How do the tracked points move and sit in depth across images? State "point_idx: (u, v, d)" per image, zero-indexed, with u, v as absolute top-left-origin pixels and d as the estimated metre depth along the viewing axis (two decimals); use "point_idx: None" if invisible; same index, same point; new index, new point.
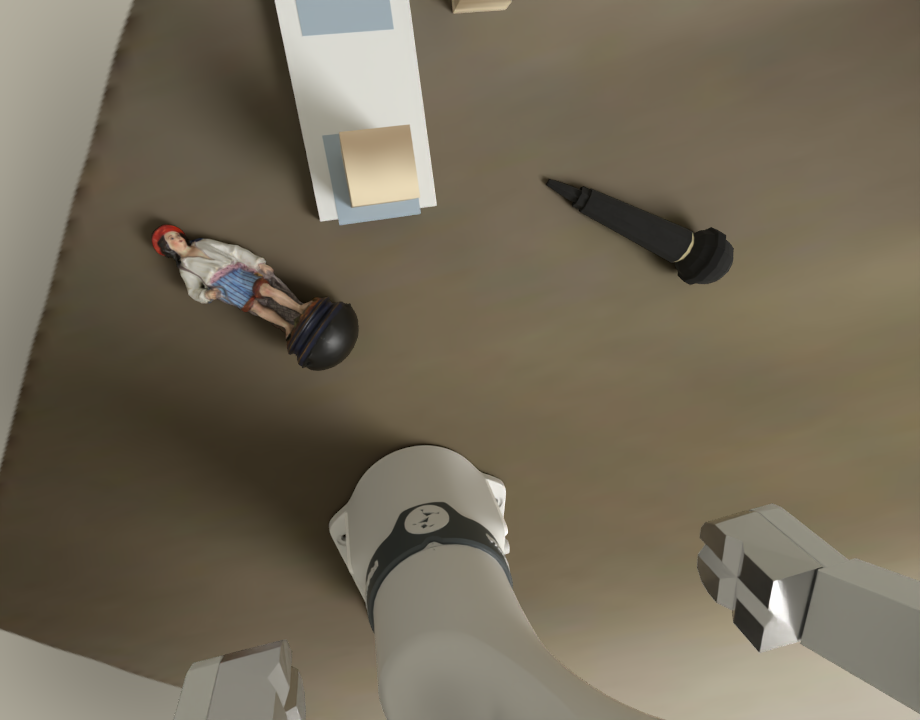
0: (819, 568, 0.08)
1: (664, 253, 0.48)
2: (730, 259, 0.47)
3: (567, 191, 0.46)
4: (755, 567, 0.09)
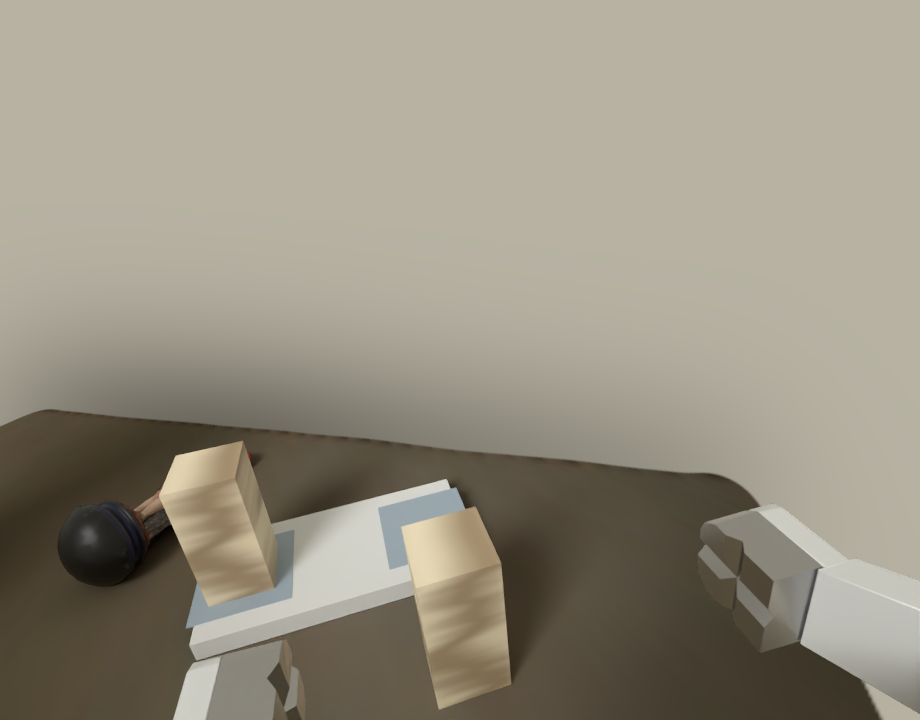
0: (819, 568, 0.08)
1: None
2: None
3: None
4: (755, 567, 0.09)
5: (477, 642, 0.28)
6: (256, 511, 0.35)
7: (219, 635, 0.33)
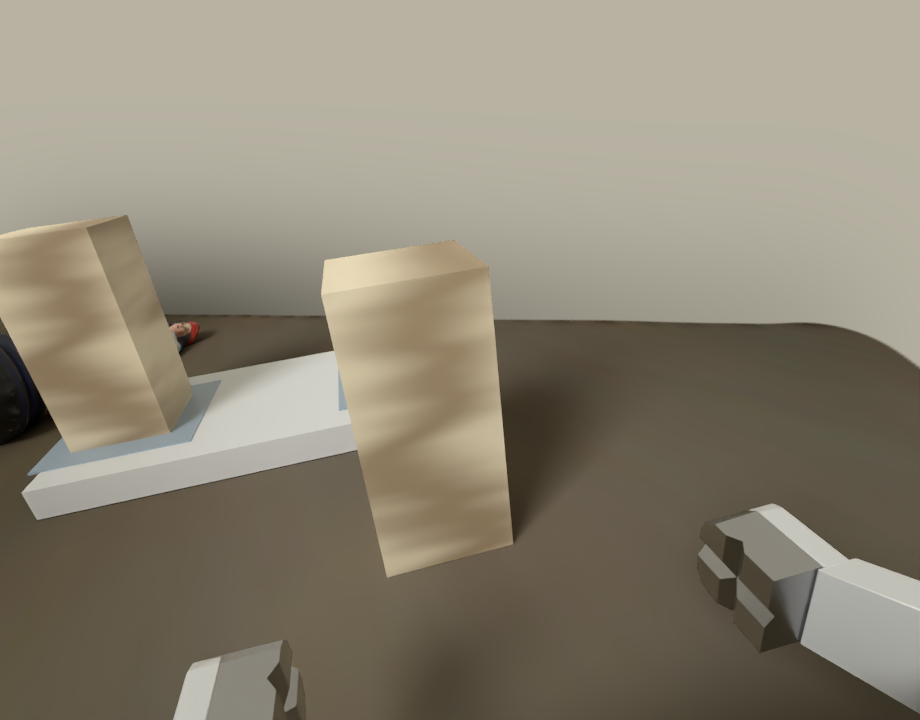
0: (819, 568, 0.08)
1: None
2: None
3: None
4: (755, 567, 0.09)
5: (450, 446, 0.15)
6: (142, 314, 0.24)
7: (70, 481, 0.22)
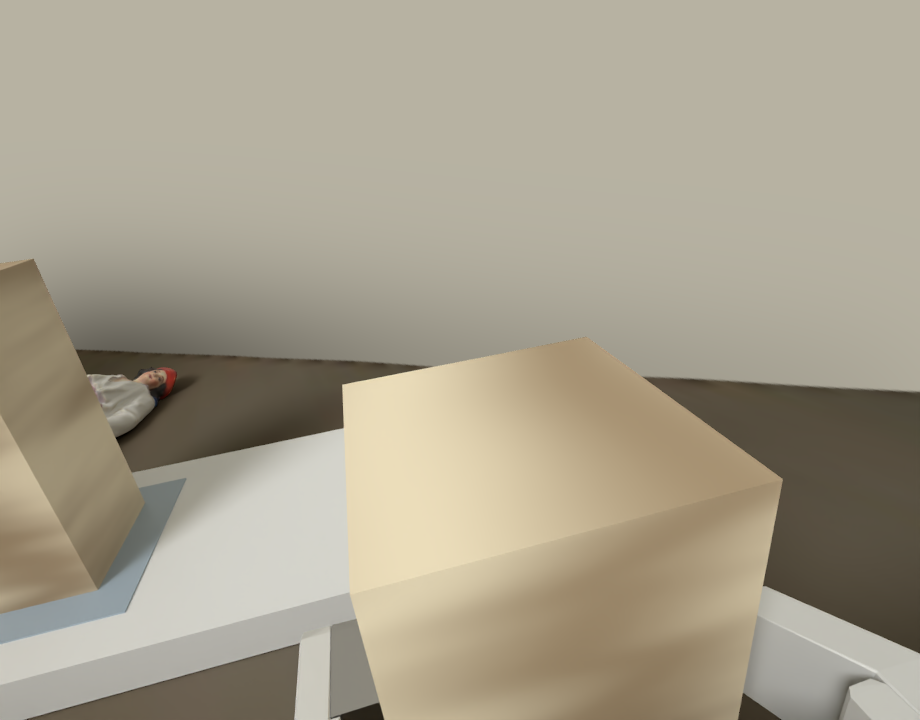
0: None
1: None
2: None
3: None
4: None
5: None
6: (54, 413, 0.16)
7: None
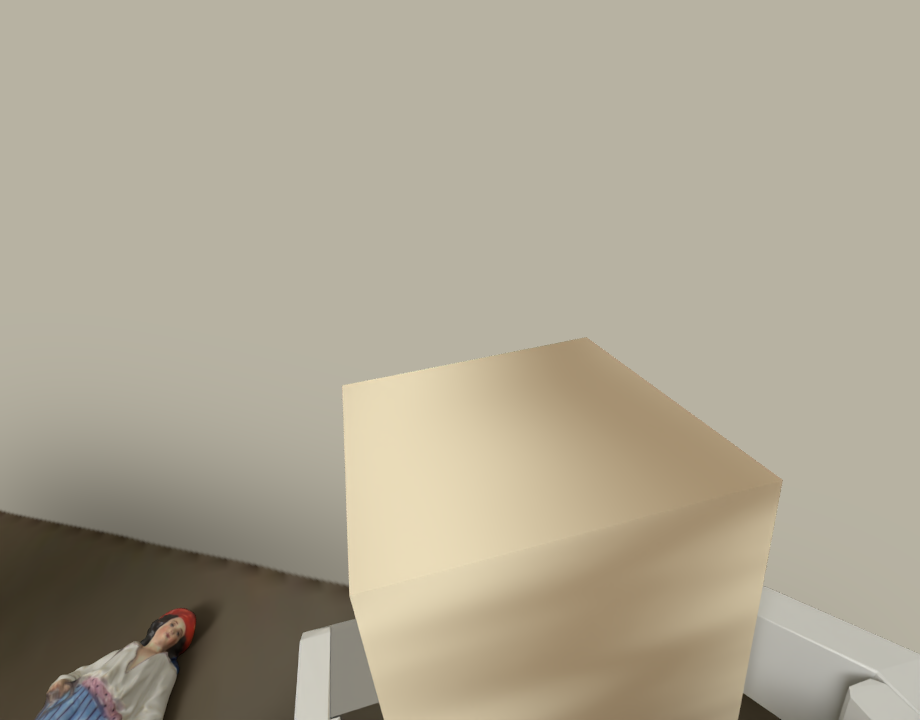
0: None
1: None
2: None
3: None
4: None
5: None
6: None
7: None
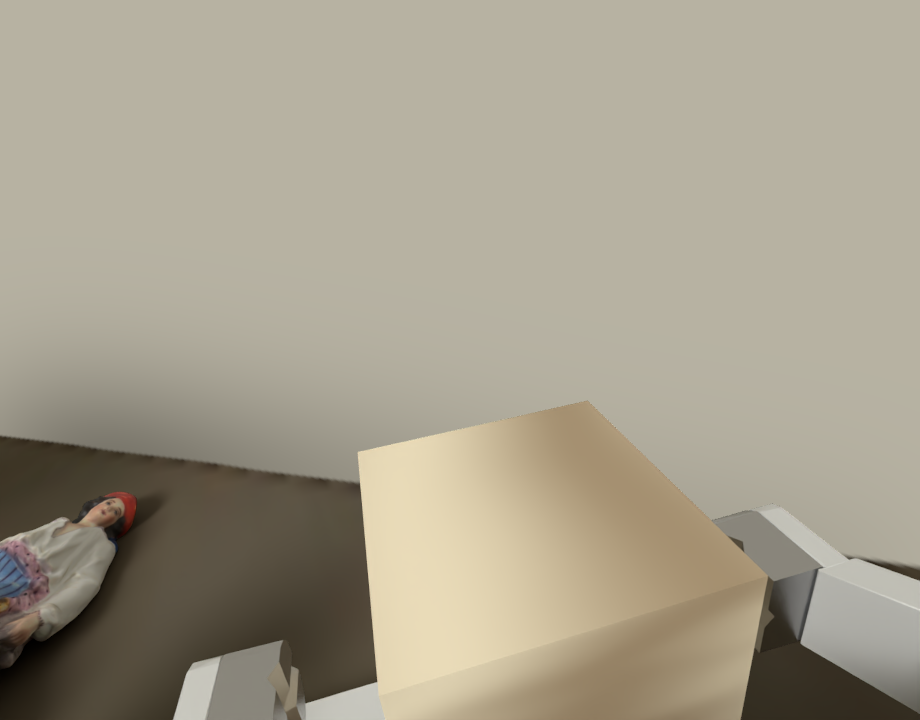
0: (819, 568, 0.08)
1: None
2: None
3: None
4: None
5: None
6: None
7: None
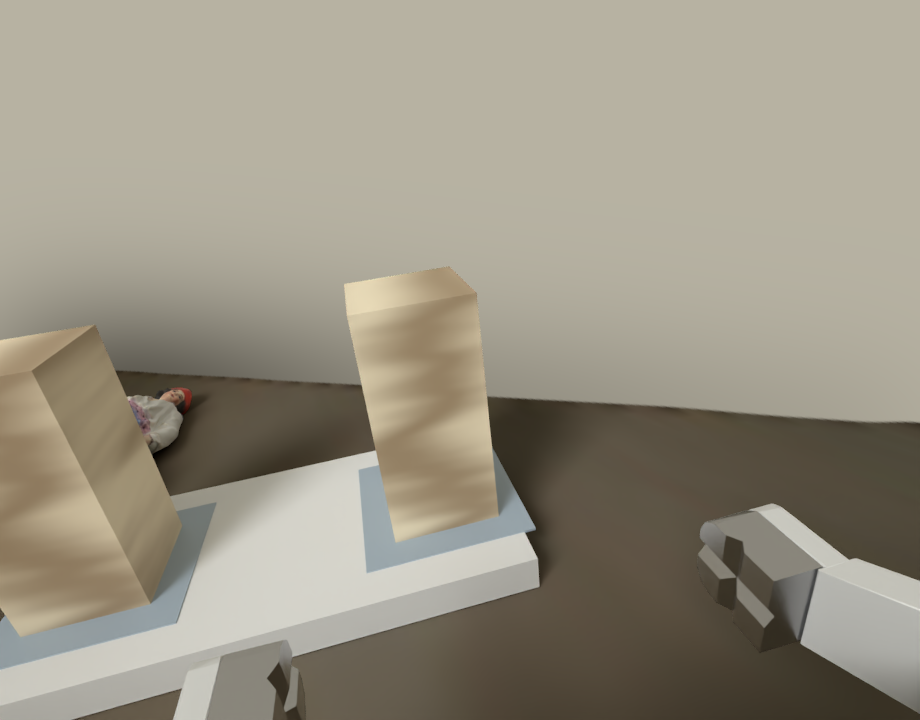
0: (819, 568, 0.08)
1: None
2: None
3: None
4: (755, 567, 0.09)
5: (446, 434, 0.19)
6: (114, 456, 0.19)
7: (14, 699, 0.16)
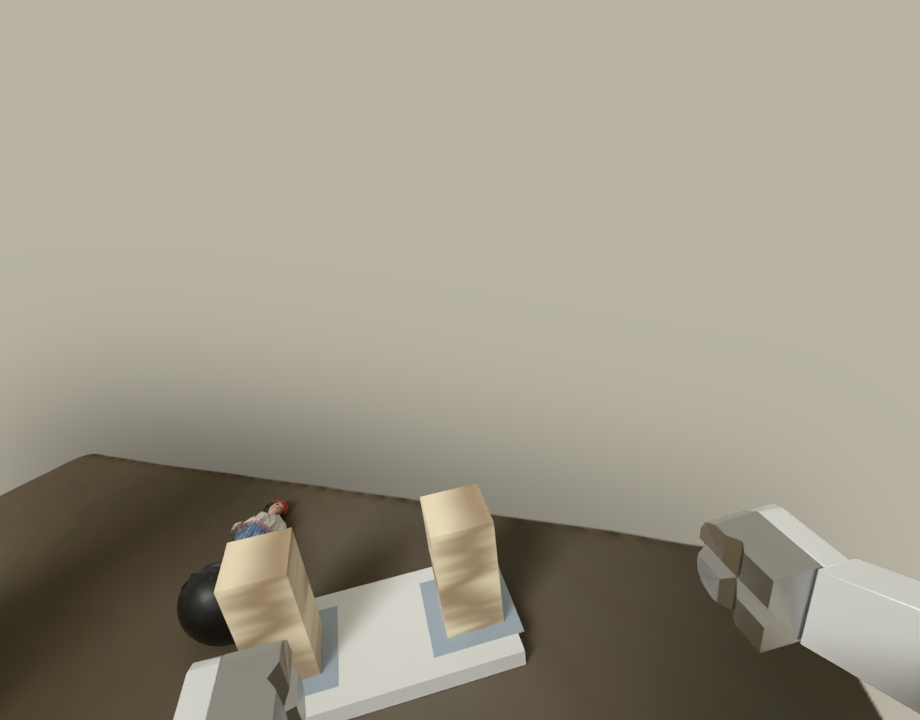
0: (819, 568, 0.08)
1: None
2: None
3: None
4: (755, 567, 0.09)
5: (476, 584, 0.37)
6: (304, 598, 0.36)
7: None
